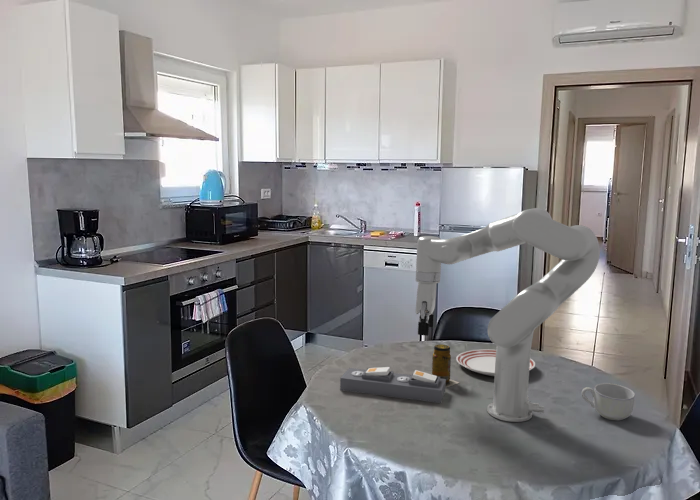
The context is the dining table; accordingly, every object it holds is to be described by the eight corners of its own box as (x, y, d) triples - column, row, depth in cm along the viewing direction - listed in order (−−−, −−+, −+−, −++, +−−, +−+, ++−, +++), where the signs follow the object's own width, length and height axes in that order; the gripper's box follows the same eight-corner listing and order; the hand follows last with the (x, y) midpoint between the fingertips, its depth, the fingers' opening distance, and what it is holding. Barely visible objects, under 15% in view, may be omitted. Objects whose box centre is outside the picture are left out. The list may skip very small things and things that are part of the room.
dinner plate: (440, 366, 208) (440, 357, 207) (484, 351, 226) (485, 343, 225) (506, 388, 188) (507, 379, 187) (549, 370, 206) (550, 361, 205)
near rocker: (436, 379, 182) (437, 375, 181) (434, 384, 177) (435, 380, 177) (414, 373, 183) (415, 369, 183) (412, 378, 179) (412, 374, 179)
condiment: (440, 376, 198) (441, 342, 196) (459, 383, 191) (461, 348, 190) (425, 380, 193) (426, 345, 192) (444, 388, 187) (446, 352, 185)
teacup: (634, 413, 169) (636, 387, 168) (630, 427, 160) (633, 400, 159) (583, 403, 176) (585, 378, 175) (577, 416, 167) (579, 389, 166)
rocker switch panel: (445, 391, 184) (445, 375, 183) (441, 403, 175) (441, 386, 174) (349, 379, 193) (349, 364, 192) (340, 390, 184) (340, 374, 183)
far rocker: (390, 370, 186) (389, 366, 185) (387, 375, 181) (386, 371, 181) (369, 371, 188) (368, 367, 188) (366, 376, 183) (365, 372, 183)
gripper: (420, 271, 187) (417, 322, 189) (411, 280, 170) (408, 337, 173) (443, 272, 185) (440, 324, 187) (436, 282, 168) (433, 339, 171)
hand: (425, 330), depth 180 cm, fingers open, 9 cm apart
